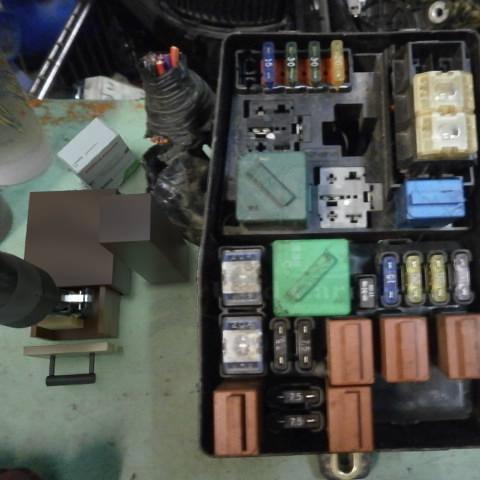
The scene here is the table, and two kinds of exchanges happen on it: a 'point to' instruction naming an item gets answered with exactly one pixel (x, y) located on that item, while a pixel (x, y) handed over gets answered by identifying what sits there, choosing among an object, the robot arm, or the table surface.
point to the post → (143, 238)
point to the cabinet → (72, 240)
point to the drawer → (81, 337)
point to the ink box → (99, 156)
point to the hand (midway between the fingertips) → (67, 313)
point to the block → (61, 322)
